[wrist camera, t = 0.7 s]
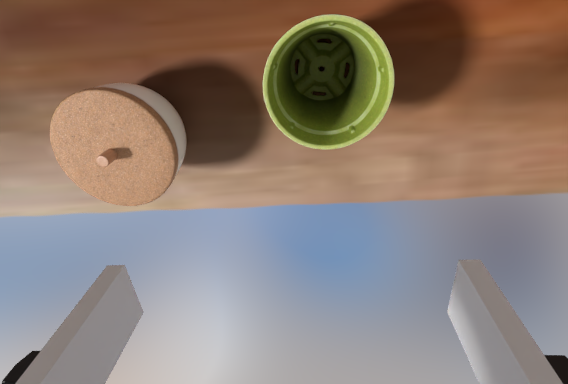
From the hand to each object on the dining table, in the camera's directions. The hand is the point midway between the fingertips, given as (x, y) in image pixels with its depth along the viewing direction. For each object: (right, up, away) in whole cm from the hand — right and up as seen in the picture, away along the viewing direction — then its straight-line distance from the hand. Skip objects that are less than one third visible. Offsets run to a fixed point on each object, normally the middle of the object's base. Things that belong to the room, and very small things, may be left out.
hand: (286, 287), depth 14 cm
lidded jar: (-14, +11, +22) cm, 28 cm away
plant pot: (+4, +16, +18) cm, 24 cm away
